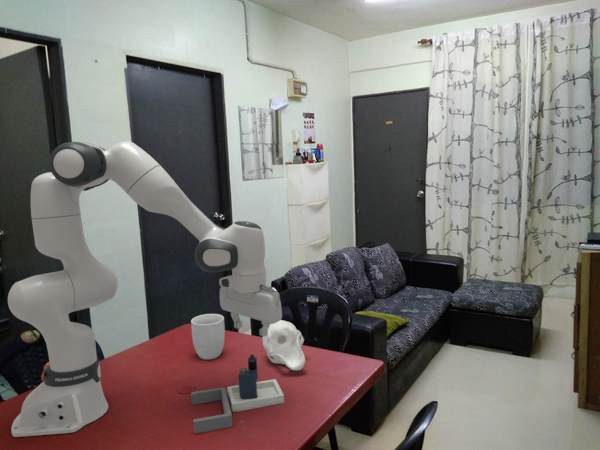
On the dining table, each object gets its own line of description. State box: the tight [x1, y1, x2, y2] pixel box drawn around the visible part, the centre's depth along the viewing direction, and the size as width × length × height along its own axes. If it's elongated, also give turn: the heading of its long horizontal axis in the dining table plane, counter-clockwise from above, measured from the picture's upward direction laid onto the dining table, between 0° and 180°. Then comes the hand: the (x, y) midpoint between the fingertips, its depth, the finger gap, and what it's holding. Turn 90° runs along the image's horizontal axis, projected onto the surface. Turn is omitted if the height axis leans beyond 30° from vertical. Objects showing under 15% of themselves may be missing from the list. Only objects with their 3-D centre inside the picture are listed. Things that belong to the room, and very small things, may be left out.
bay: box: [190, 386, 233, 435], centre depth 119 cm, size 9×15×3 cm, turn 16°
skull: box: [262, 319, 306, 371], centre depth 147 cm, size 13×14×20 cm
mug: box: [190, 313, 226, 361], centre depth 157 cm, size 15×11×13 cm
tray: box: [226, 378, 285, 413], centre depth 126 cm, size 14×10×2 cm
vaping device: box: [238, 354, 259, 399], centre depth 125 cm, size 3×5×12 cm, turn 89°
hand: (250, 331), depth 124 cm, fingers open, 8 cm apart
